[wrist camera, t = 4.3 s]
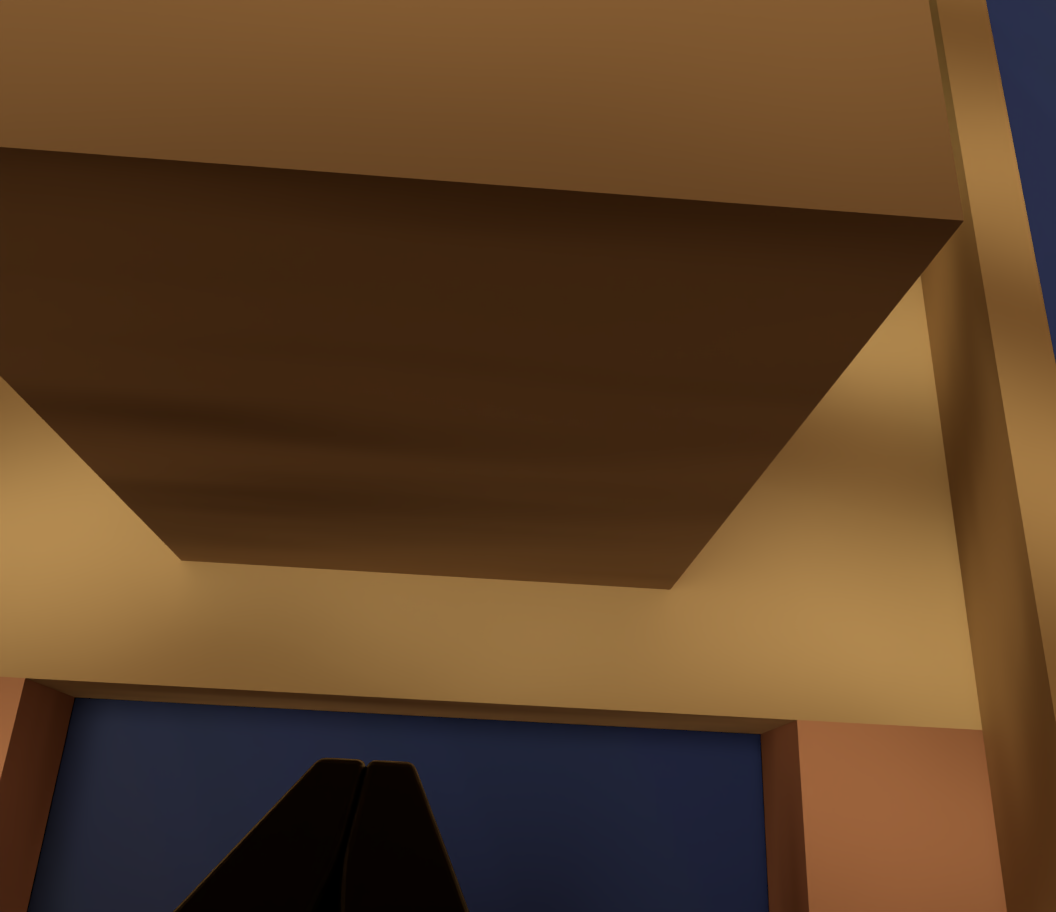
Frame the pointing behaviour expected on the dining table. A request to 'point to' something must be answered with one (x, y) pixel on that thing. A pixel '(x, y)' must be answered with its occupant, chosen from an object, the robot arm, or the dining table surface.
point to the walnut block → (455, 262)
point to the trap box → (670, 598)
